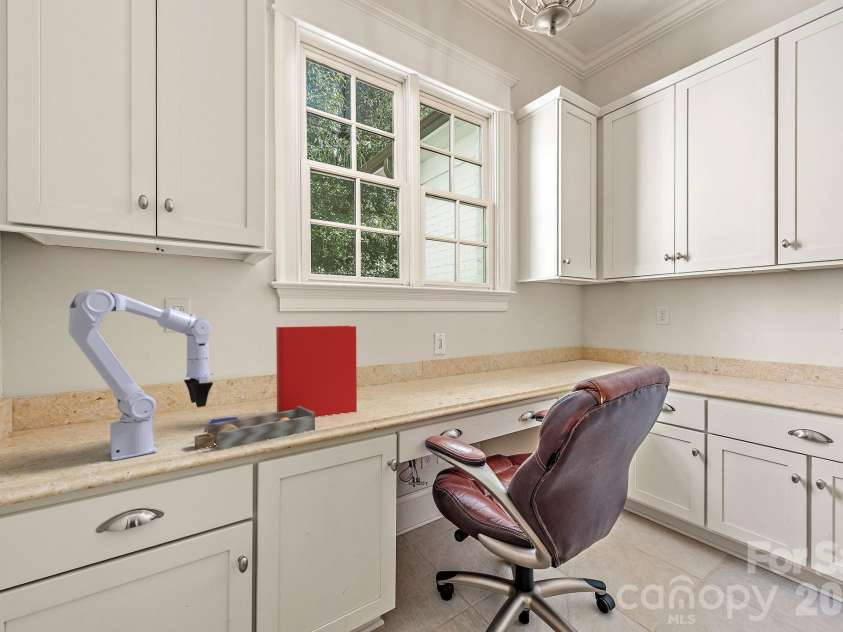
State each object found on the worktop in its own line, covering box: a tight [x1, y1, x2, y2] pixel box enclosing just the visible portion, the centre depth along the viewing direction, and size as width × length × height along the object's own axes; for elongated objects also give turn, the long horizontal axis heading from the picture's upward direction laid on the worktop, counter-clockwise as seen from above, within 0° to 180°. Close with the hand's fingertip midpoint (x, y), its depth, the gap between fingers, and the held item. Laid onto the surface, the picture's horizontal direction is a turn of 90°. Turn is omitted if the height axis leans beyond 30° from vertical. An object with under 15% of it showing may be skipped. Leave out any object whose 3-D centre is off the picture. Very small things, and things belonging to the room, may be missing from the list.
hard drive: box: [205, 416, 239, 431], centre depth 129 cm, size 2×8×12 cm
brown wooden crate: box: [194, 433, 215, 450], centre depth 108 cm, size 4×4×3 cm
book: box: [275, 325, 358, 418], centre depth 143 cm, size 27×8×32 cm, turn 118°
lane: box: [206, 406, 316, 451], centre depth 119 cm, size 28×12×10 cm, turn 131°
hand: (198, 404), depth 116 cm, fingers open, 7 cm apart
